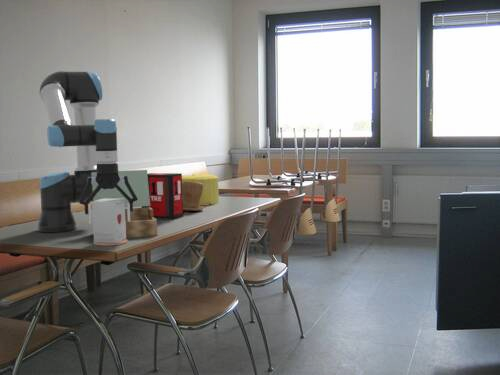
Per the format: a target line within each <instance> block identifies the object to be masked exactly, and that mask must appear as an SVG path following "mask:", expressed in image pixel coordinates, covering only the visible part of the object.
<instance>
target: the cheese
mask: <svg viewBox="0 0 500 375" xmlns="http://www.w3.org/2000/svg"><path fill="white" fill-rule="evenodd" d="M184 181H189V182H198V183H202V184H203V191H202V195H201V198H200V201H199V204H200V205H203V206H209V204H212V205H216V203H217V204H218V203H220V202H219V201H220V200H219V199H220V198H219V196H220V195H219V193H220V192H219V177H218V176H217V175H215V174H210V173H209V174H206V173H205V174H204V173H197V174H196V173H194V174H192V175H182V183H183V182H184ZM182 198H183V195H182Z"/></svg>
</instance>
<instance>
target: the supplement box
mask: <svg viewBox="0 0 500 375" xmlns="http://www.w3.org/2000/svg"><path fill="white" fill-rule="evenodd" d="M91 203H92V227H93V230H92V231H93V242H94V243H118V242H120V241H122V240H125V239H127V238H126V219H125V209H126V207H125V199H100V200H96V201H93V202H91Z"/></svg>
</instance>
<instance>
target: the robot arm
mask: <svg viewBox="0 0 500 375" xmlns="http://www.w3.org/2000/svg"><path fill="white" fill-rule="evenodd" d="M39 96H40V100H41V101H42V102H43V103H44V105H45V108H46V112H47V116H48V120H49V124H50V125H49V126H47V128H46V137H47V138H46V139H47V144H48V146H50V147H53V148H55V147H57V148H65V147H75V148H76V160H77V161H76V162H77V166H76V167H75V169H74V170H73V172H74V173H73V174H71V173H70V172H69V171H60V172H55V173H54V172H53V173H49V174H45V175H42V176H41V177H40V179H39V190H40V208H41V211H40V216H39V220H38V223H37V231H38V232H40V233H60V232H61V233H62V232H68V231H69V232H70V231H73V230H76V229H77V221H76V219H75V216H74V214H73V211H72V204H78V203H79V204H80V205H83V206H84V214H85V215H87V216H88V224H89V225H91V224H92V210H91V207H92V206H91V204H90V203H92V202H93V198H94V197H95V195H96V194H97V193H98V192H99V191H100V189H101V188H102V189H113V188H115V187H116V189H117V190H118V191H119V192H120V193H121V194H122V195H123V196H124V197H125V198H126V199H127V200H128V201H129V202H127V207H126V209H127V220H128V221H130V212H132V211H133V208H134V207H133V202H134V201H137V200H138V198H137V197H136V195H135V193H134V191H133V190H132V188H131V186H130V184H129V182H128V177H127V176H126V175H124V176H121V177H119V175H118V171H119V164H118V163H117V162H118V159H119V158H118V157H119V156H118V134H117V130H118V128H117V122H116V120H115V119H114V118H111V119H110V118H107V119H105V118H102V119H100V118H98V119H97V115H96V108H97V107H98V106H99V104H100V103H99V101H102V99H103V85H102V83H101V78H100V76H99V75H98V74H97V73H96V72H91V71H61V70H60V71H56V72H53V73H50V74H49V75H47V76H46V77H45V78H44V79H43V81H42V82H41V84H40V86H39ZM66 101H69V106H71V107H72V108H73V110H74V111H73V112H74V124H73V123H72V122H73V121H72V120H71V116H70V115H71V114H70V112H69V108H68V106H67V102H66ZM91 172H97V176H96V178H92V175H91ZM120 180H122V182H124V183H125V185H126V187H127V188H128V190H129V192H130V194H131V195H132V197H133V198H130V197H129V196H128V195H127V194H126V193H125V192H124V191H123V190H122V189H121V188H120V187H119V186H118V185H117V184H118V182H119V181H120ZM94 181H96V182H97V183H98V184H99V185H98V186H97V187H96V189H95V190H94V191H93V189H92V184H93V182H94Z"/></svg>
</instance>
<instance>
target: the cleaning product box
mask: <svg viewBox="0 0 500 375" xmlns="http://www.w3.org/2000/svg"><path fill="white" fill-rule="evenodd" d="M182 174H183V173H171V172H170V173H164V172H163V173H158V172H157V173H155V172H153V173H152V172H149V173H147V176H148V187H149V197H150V206H140V208H148V207H151V208H152V209H153V217H154V218H155V219H156V220H170V219H171V220H177V219H181V218H183V217H184V211H183V198H182V176H183V175H182Z"/></svg>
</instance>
